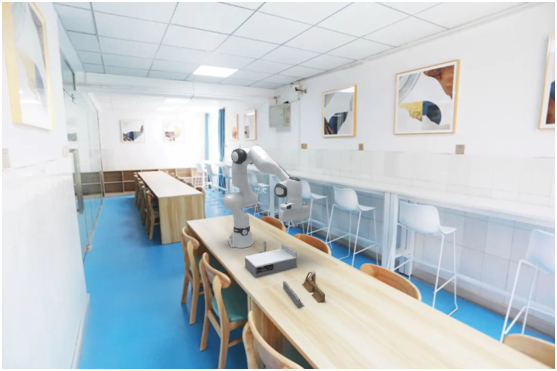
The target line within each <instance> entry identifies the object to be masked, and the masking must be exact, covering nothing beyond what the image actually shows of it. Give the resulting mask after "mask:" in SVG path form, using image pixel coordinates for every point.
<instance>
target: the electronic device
mask: <svg viewBox="0 0 557 371" xmlns="http://www.w3.org/2000/svg"><path fill="white" fill-rule="evenodd" d="M262 245H263V248H262V249H263V250H262V251H258V252H255V253H251V254H248V255H247V256H249V255H254V254H259V253H263V252H268V250H267V241H263V244H262Z"/></svg>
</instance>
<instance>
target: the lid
mask: <svg viewBox="0 0 557 371" xmlns="http://www.w3.org/2000/svg"><path fill="white" fill-rule="evenodd" d="M267 251H268V250H267ZM253 254H254V253H253ZM248 255H249V256H248ZM248 255H246V256H244V259H245V258H246V259H247V260H248V261H249V262H250V263H251V264H252V265H253V266H254V267H255V268H257V267H261V266H265V265H270V264H274V263H278V262H282V261H286V260H291V259H295V258H296V259H297V251H295V250H294V249H293V248H291V247H289V246H288V245H286V244H284V243H281V248H279V249H273V250H269V251H268V252H263V253H259V254H254V255H250V254H248Z"/></svg>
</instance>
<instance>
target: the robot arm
mask: <svg viewBox="0 0 557 371" xmlns="http://www.w3.org/2000/svg"><path fill="white" fill-rule="evenodd" d="M231 161H232V162H231V184H232V186H234V187H235V188H237V189H239V192H234V193H233V192H232V193H229V194H225V196H224V197H223V198H222V199H223V200H222V204H223V206H224V207H225V209H227V210H228V211H230V212H231V215H232V218H233V230H232V232H231V233H230V235H229V236H228V237H229V238H228V239H227V241H228V242H229V243H228V242H227V243H228V245H229V247H230V248H236V249H237V248H238V249H239V248H240V249H241V248H242V249H243V248H249V247H250V246H253V244H255V240H253V233H252V231H251V225H250V215H249V214H248V213H247V212H245V211H242V209H243V208H248V207H252V206H256V205H257V203H258V200H259V197H258V195H257V193H256V192H255V191H253V190H252V188H251V187H250V185H249V180H248V179H249V178H248V165H254V166H255V168H256V169H257V170H258V171H259V172H260V173H263V174H271V175H273V176H276V177H277V178H278V179H279V180H280V181H281V182H277V183H276V184H275V186H274V194H275V195H276V197H278V198H281V199H282V198H287V199H286V201H285V202H283V203H280V205H279V208H280V209H279V211H278V219H279V221H280V222H282V223H283V222H288V221H289V222H290V224H291V226H292V228H296V227H299V226H298V224H299V222H300V220H303V219H309V218H310V217H311V210H310V204H309V203H308V202H303V198H302V194H303V186H302V185H303V184H302V181H301V179H300V178H299V177H295V176H290V174H289V173H288V172H287V171H286V170H285V169H284V168H283V167H282V166H281V165H280V164H278V163H277V162H275V161H274V159H272V157H270V155H269V154H268V153H267V152H266V151H265V150H264V149H263V147H261V146H259V145H253V146H252V147H243V148H241V147H240V148H236V149H233V150H232V151H231Z"/></svg>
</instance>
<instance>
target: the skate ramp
mask: <svg viewBox="0 0 557 371" xmlns="http://www.w3.org/2000/svg"><path fill="white" fill-rule="evenodd" d="M316 276H317V275H316V270H312V271H309V272H308V273H307V275H306V277H305V279H304V282H303V283H302V284H301V286H302V287H303V288H304V289H305V290H306V291H307V292H308V293H312V294H311V297H312V298H313V299H314V300H315V301H316V303H318V304H320V303H324V302H326V293H325V292H324V291H323V290H322V289H321V288H320V287H319V286H318V284H317V283H316V281H317V280H316ZM282 287H283V290H284V291H285V293H286V294H287V295H288V297H289V298H290V299H291V301H292V303H294V305H295V306H296V307H297V308H299V309H300V308H304V307H305V305H304V303H303V302H302V301H301V298H299V296H298V295H297V294H296V293H295V291H294V290H293V289H292V288H291V286H290V285H289V284H288V283H287V282H286V280H283V281H282Z"/></svg>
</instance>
